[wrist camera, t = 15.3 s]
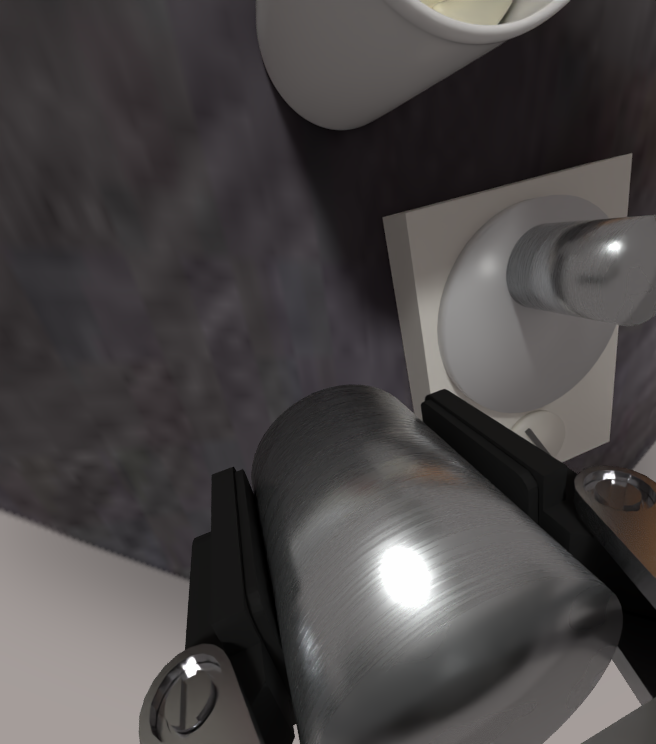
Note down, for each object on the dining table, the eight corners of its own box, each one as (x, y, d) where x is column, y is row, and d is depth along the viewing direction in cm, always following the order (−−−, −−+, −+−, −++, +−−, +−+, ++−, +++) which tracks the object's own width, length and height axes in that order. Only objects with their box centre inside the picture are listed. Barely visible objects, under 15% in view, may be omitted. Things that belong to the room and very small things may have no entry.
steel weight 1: (210, 480, 9) (219, 821, 4) (353, 346, 9) (561, 514, 4) (329, 558, 12) (435, 837, 6) (444, 452, 11) (651, 647, 6)
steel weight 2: (504, 234, 21) (606, 229, 15) (574, 214, 22) (694, 203, 16) (507, 317, 23) (599, 339, 17) (572, 295, 24) (678, 309, 18)
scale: (382, 217, 23) (414, 211, 19) (587, 163, 26) (649, 149, 22) (426, 490, 31) (454, 522, 27) (577, 425, 34) (621, 447, 30)
